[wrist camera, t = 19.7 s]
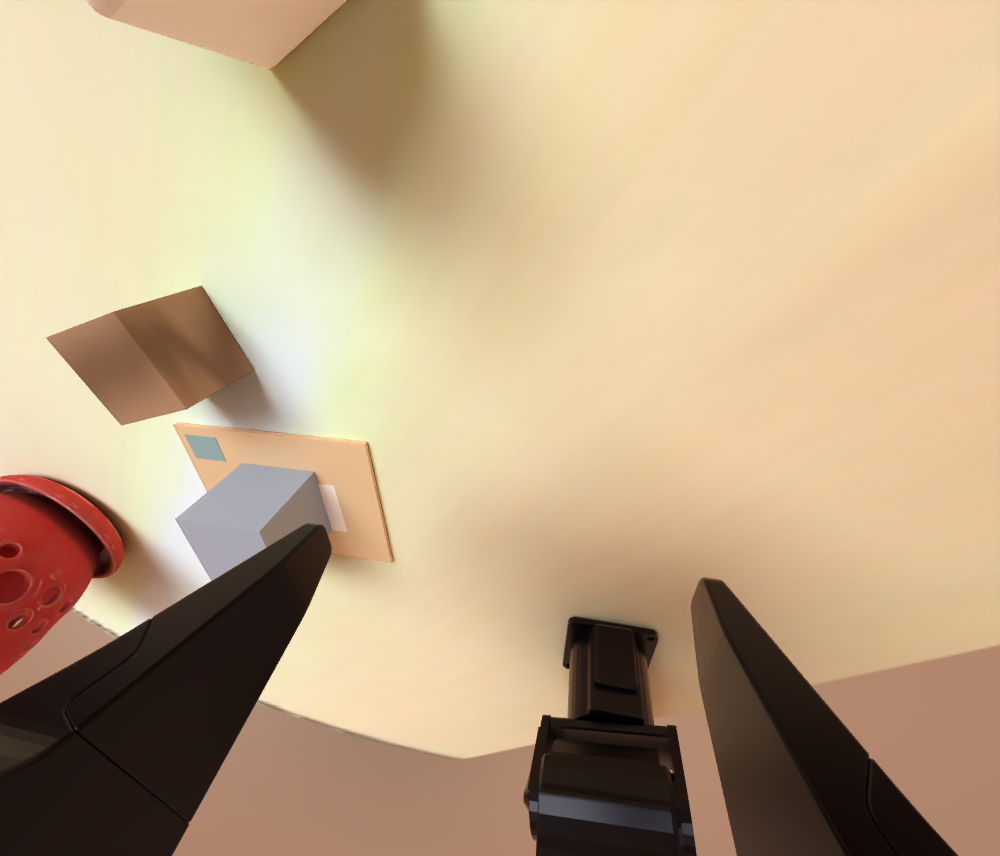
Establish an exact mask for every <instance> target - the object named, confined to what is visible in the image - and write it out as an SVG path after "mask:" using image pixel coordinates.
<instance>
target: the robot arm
mask: <svg viewBox="0 0 1000 856" xmlns="http://www.w3.org/2000/svg"><path fill="white" fill-rule="evenodd" d="M331 552H332V546H331V542H330V539H329V536H328V533H327V530H326V528H325V526H324V525H323V524H318V523H306V524H304V525H302V526H301V527H299V528H297V529H296V530H294V531H292V532H291V533H289V534H288V535H286V536H284V537H283V538H281V539H279V540H278V541H276V542H274V543H273V544H271V545H270V546H268V547H266V548H265V549H263V550H261V551H260V552H258V553H257V554H255V555H253V556H252V557H250V558H248V559H247V560H245V561H243V562H242V563H240V564H239V565H237V566H235V567H234V568H232V569H230V570H229V571H227V572H225V573H224V574H222V575H221V576H219V577H217V578H216V579H214V580H212V581H211V582H209V583H207V584H206V585H204V586H203V587H201V588H199V589H198V590H196V591H194V592H193V593H191V594H189V595H188V596H186V597H185V598H183V599H181V600H180V601H178V602H176V603H175V604H173V605H171V606H170V607H168V608H167V609H165V610H163V611H162V612H160V613H158V614H157V615H155V616H154V617H153V618H152V619H148V620H147V621H145V622H143V623H142V624H140V625H139V626H137V627H135V628H134V629H132V630H130V631H129V632H127V633H125V634H124V635H122V636H120V637H119V638H117V639H115V640H114V641H112V642H110V643H108V644H107V645H105V646H104V647H102V648H100V649H98V650H96V651H95V652H93V653H91V654H89V655H88V656H86V657H84V658H82V659H80V660H78V661H77V662H75V663H73V664H71V665H69V666H68V667H66V668H64V669H62V670H60V671H58V672H57V673H55V674H53V675H51V676H49V677H47V678H46V679H44V680H42V681H40V682H39V683H36V684H35V685H33V686H31V687H29V688H27V689H25V690H23V691H22V692H20V693H18V694H16V695H14V696H12V697H11V698H9V699H7V700H5V701H3V702H2V703H0V856H172V855H173V853H174V851H175V849H176V848H177V846H178V844H179V842H180V840H181V839H182V837H183V835H184V833H185V831H186V829H187V828H188V826H189V822H190V821H191V820H192V818H193V816H194V814H195V813H196V811H197V809H198V807H199V805H200V804H201V802H202V800H203V798H204V796H205V794H206V793H207V791H208V789H209V787H210V785H211V784H212V782H213V780H214V778H215V776H216V775H217V773H218V771H219V769H220V767H221V765H222V764H223V762H224V760H225V758H226V756H227V755H228V753H229V751H230V749H231V747H232V745H233V744H234V742H235V740H236V738H237V737H238V735H239V733H240V731H241V729H242V728H243V726H244V724H245V722H246V720H247V718H248V717H249V715H250V713H251V711H252V709H253V708H254V706H255V704H256V702H257V700H258V699H259V697H260V695H261V693H262V691H263V689H264V688H265V686H266V684H267V682H268V680H269V679H270V677H271V675H272V673H273V671H274V670H275V668H276V666H277V664H278V662H279V661H280V659H281V657H282V655H283V653H284V651H285V650H286V648H287V646H288V644H289V642H290V641H291V639H292V637H293V635H294V633H295V632H296V630H297V628H298V626H299V624H300V622H301V621H302V619H303V617H304V615H305V613H306V611H307V609H308V607H309V605H310V602H311V600H312V598H313V595H314V593H315V591H316V588H317V586H318V584H319V581H320V579H321V577H322V574H323V572H324V570H325V568H326V565H327V563H328V561H329V558H330V556H331ZM691 614H692V623H693V632H694V641H695V650H696V660H697V669H698V677H699V684H700V689H701V694H702V699H703V703H704V708H705V712H706V717H707V721H708V726H709V730H710V735H711V739H712V744H713V749H714V753H715V758H716V762H717V767H718V771H719V776H720V780H721V785H722V789H723V794H724V798H725V803H726V807H727V812H728V817H729V821H730V825H731V830H732V835H733V839H734V843H735V848H736V852H737V856H958V855H957V854H956V853H955V851H953V850H952V848H951V847H950V846H949V845H948V844H947V843H946V842H945V841H944V840H943V838H941V836H940V835H939V834H938V833H937V832H936V831H935V830H934V829H933V828H932V826H930V824H929V823H928V822H927V821H926V820H925V819H924V817H923V816H922V815H921V814H920V813H919V812H918V811H917V809H916V808H915V807H914V806H913V805H912V804H911V803H910V801H909V800H908V799H907V798H906V797H905V796H904V795H903V793H902V792H901V791H900V790H899V789H898V788H897V787H896V785H895V784H894V783H893V782H892V781H891V779H890V778H889V777H888V776H887V775H886V773H885V772H884V771H883V770H882V769H881V768H880V766H879V765H878V764H877V763H876V762H875V760H873V759H871V758H869V754H868V752H867V751H866V750H865V749H864V748H863V747H862V745H861V744H860V743H859V742H858V740H857V739H856V738H855V737H854V736H853V735H852V733H851V732H850V731H849V730H848V729H847V727H846V726H845V725H844V724H843V723H842V722H841V720H840V719H839V718H838V717H837V716H836V715H835V713H834V712H833V711H832V710H831V708H830V707H829V706H828V705H827V704H826V703H825V701H824V700H823V699H822V698H821V697H820V695H819V694H818V693H817V692H816V691H815V690H814V688H813V687H812V686H811V685H810V684H809V682H808V681H807V680H806V679H805V678H804V676H803V675H802V674H801V673H800V672H799V670H798V669H797V668H796V667H795V666H794V665H793V663H792V662H791V661H790V660H789V659H788V657H787V656H786V655H785V654H784V653H783V652H782V650H781V649H780V648H779V647H778V646H777V644H776V643H775V642H774V641H773V640H772V638H771V637H770V636H769V635H768V634H767V633H766V631H765V630H764V629H763V628H762V627H761V625H760V624H759V623H758V622H757V621H756V619H755V618H754V617H753V616H752V615H751V614H750V612H749V611H748V610H747V609H746V608H745V606H744V605H743V604H742V603H741V602H740V601H739V599H738V598H737V597H736V596H735V595H734V593H733V592H732V591H731V590H730V589H729V587H728V586H727V585H726V584H725V583H724V582H723V581H721V580H719V579H712V578H705V577H704V578H701V579H700V581H699V583H698V586H697V588H696V591H695V593H694V596H693V599H692V602H691ZM657 641H658V636H657V632H656V631H654V630H650V629H644V628H637V627H631V626H625V625H619V624H613V623H606V622H600V621H594V620H588V619H582V618H575V617H573V618H570V619H569V620H568V627H567V634H566V642H565V649H564V657H563V666H564V667H565V668H567V669H570V671H569V696H568V718H557V717H551V716H550V715H543V716H542V721H541V726H540V727H538V733H537V739H536V744H535V750H534V755H533V760H532V766H531V771H530V775H529V778H528V781H527V784H526V788H525V791H524V804H525V805H526V807H527V809H528V810H529V818H530V829H531V834H532V838H533V839H534V840H535V841H537V844H536V846H537V847H536V856H697V855H696V847H695V841H694V833H693V826H692V819H691V813H690V806H689V800H688V794H687V788H686V782H685V776H684V770H683V764H682V759H681V753H680V747H679V741H678V735H677V730H676V726H674V725H667V727H665V726H654V720H653V712H652V703H651V694H650V686H649V677H648V667H649V664H650V662H651V659H652V656H653V653H654V650H655V647H656V644H657ZM669 769H670V770H672V771H673V773H671V772H670V770H669Z"/></svg>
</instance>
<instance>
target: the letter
mask: <svg viewBox="0 0 1000 856" xmlns="http://www.w3.org/2000/svg"><path fill="white" fill-rule="evenodd" d="M173 426H174V428H175V430H176V432H177V434H178V436H179V438H180V440H181V442H182V444H183V446H184V448H185V449H186V451H187V453H188V455H189V457H190V459H191V461H192V463H193V465H194V467H195V469H196V471H197V473H198V475H199V477H200V479H201V481H202V483H203V485H204V487H205V489H206V491H207V492H208V491H210V490H211V489H212V488H213V487H214V486H215V485H217V484H218V483H219V482H220V481H221V480H223V479H224V478H225V477H226V476H227V475H229V474H230V473H231V472H232V471H233V470H234V469H236V468H237V467H238V466H239V465H240V464H242V463H245V464H253V465H261V466H270V467H278V468H286V469H295V470H303V471H311V472H314V473H315V476H316V480H317V483H318V486H319V489H320V492H321V496H322V499H323V502H324V505H325V508H326V512H327V515H328V518H329V521H330V524H331V528H332V531H331V533H330V534H329V535H328V536H329V539H330V542H331V546H332V552H331V554H336V555H342V556H349V557H356V558H362V559H369V560H375V561H382V562H389V563H391V562H392V560H393V558H392V554H391V549H390V545H389V540H388V536H387V531H386V526H385V522H384V517H383V513H382V508H381V504H380V499H379V495H378V490H377V485H376V481H375V476H374V472H373V467H372V463H371V458H370V453H369V449H368V444H367V442H363V441H354V440H344V439H334V438H324V437H314V436H305V435H295V434H285V433H275V432H265V431H255V430H246V429H236V428H226V427H216V426H206V425H197V424H187V423H177V422H176V423H175V424H173Z"/></svg>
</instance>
